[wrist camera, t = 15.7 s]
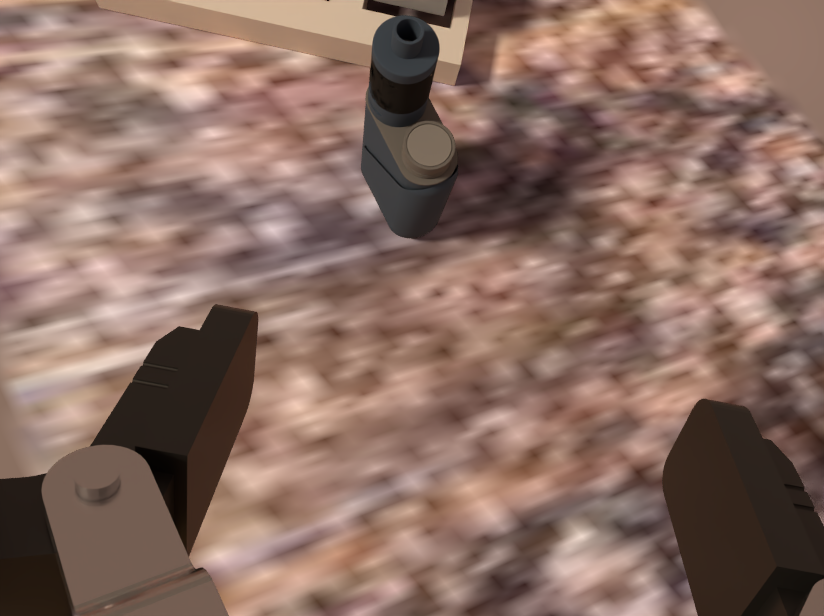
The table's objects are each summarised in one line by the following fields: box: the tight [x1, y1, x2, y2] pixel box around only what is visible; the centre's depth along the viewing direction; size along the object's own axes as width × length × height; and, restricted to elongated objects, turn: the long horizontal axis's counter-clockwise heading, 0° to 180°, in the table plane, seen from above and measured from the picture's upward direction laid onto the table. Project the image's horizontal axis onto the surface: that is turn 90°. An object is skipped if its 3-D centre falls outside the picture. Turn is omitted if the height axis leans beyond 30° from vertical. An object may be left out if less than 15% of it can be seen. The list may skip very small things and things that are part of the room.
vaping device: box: [361, 15, 458, 238], centre depth 30 cm, size 3×5×12 cm, turn 26°
